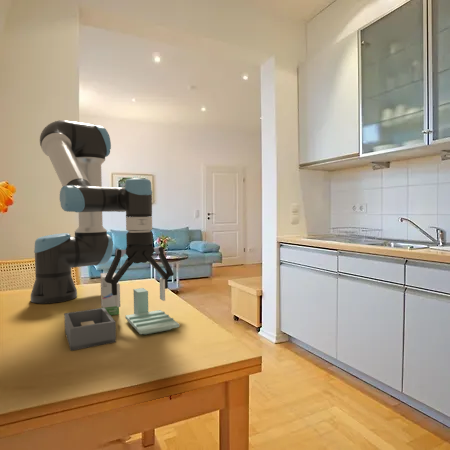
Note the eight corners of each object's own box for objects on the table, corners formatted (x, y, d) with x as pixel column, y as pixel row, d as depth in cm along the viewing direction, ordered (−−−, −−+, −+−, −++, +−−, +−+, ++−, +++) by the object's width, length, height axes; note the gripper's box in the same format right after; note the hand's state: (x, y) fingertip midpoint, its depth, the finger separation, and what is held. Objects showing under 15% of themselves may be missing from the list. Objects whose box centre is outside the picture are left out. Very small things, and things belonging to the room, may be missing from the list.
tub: (70, 350, 79) (70, 328, 79) (65, 332, 91) (64, 313, 91) (115, 342, 84) (115, 321, 84) (104, 325, 96) (104, 307, 96)
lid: (140, 338, 86) (139, 306, 86) (121, 317, 103) (120, 290, 103) (179, 330, 91) (178, 300, 91) (155, 311, 109) (155, 286, 108)
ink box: (119, 314, 106) (118, 276, 106) (102, 316, 104) (101, 277, 104) (116, 307, 114) (116, 271, 114) (100, 309, 112) (99, 273, 112)
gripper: (97, 233, 93) (99, 312, 94) (183, 230, 106) (184, 299, 106) (93, 232, 100) (94, 305, 101) (174, 229, 112) (175, 294, 113)
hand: (141, 302), depth 104 cm, fingers open, 13 cm apart
